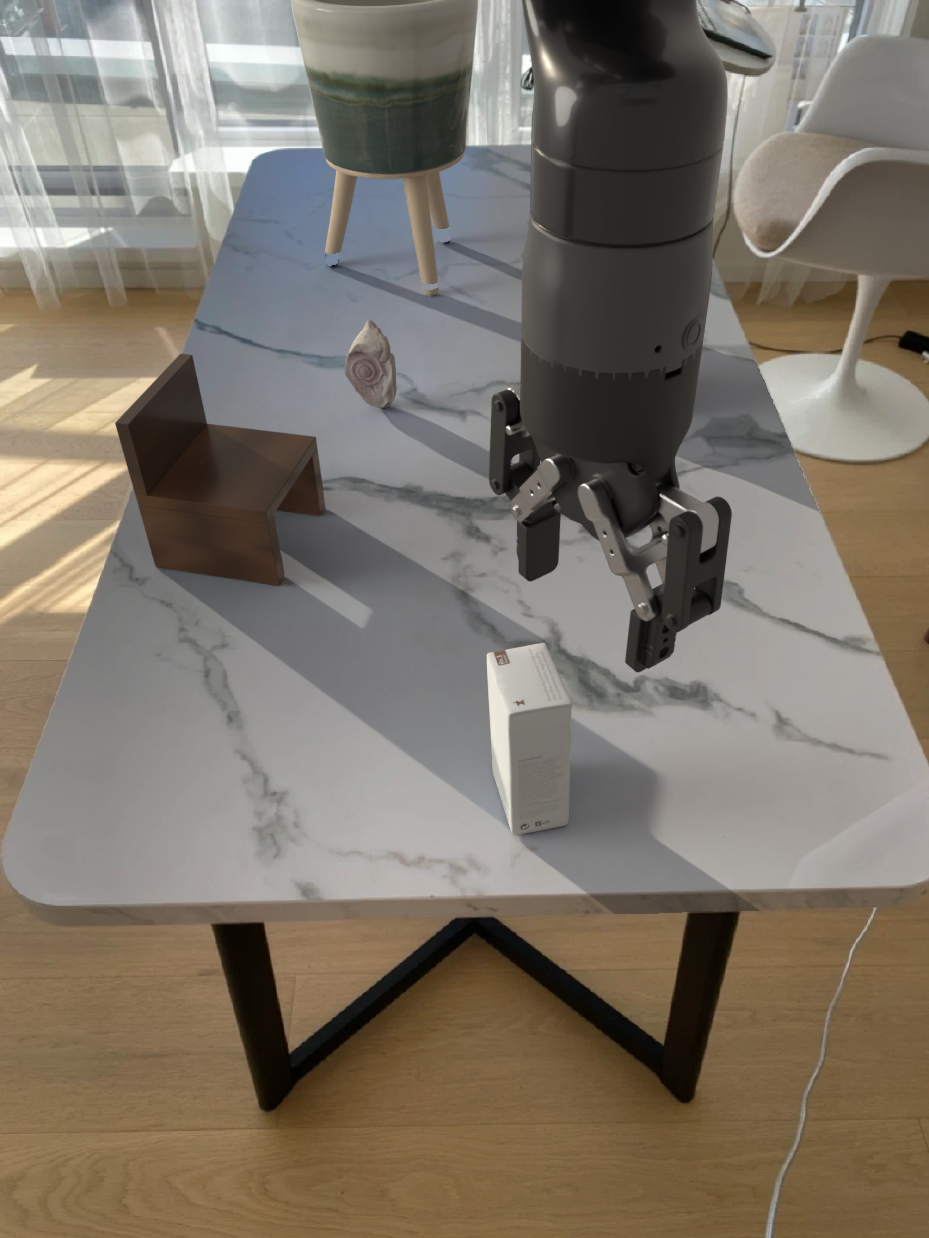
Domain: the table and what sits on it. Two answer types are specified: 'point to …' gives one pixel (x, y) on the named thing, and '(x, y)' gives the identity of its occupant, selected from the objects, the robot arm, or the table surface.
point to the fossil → (372, 367)
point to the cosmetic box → (530, 737)
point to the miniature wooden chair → (213, 482)
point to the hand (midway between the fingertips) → (589, 615)
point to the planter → (390, 101)
